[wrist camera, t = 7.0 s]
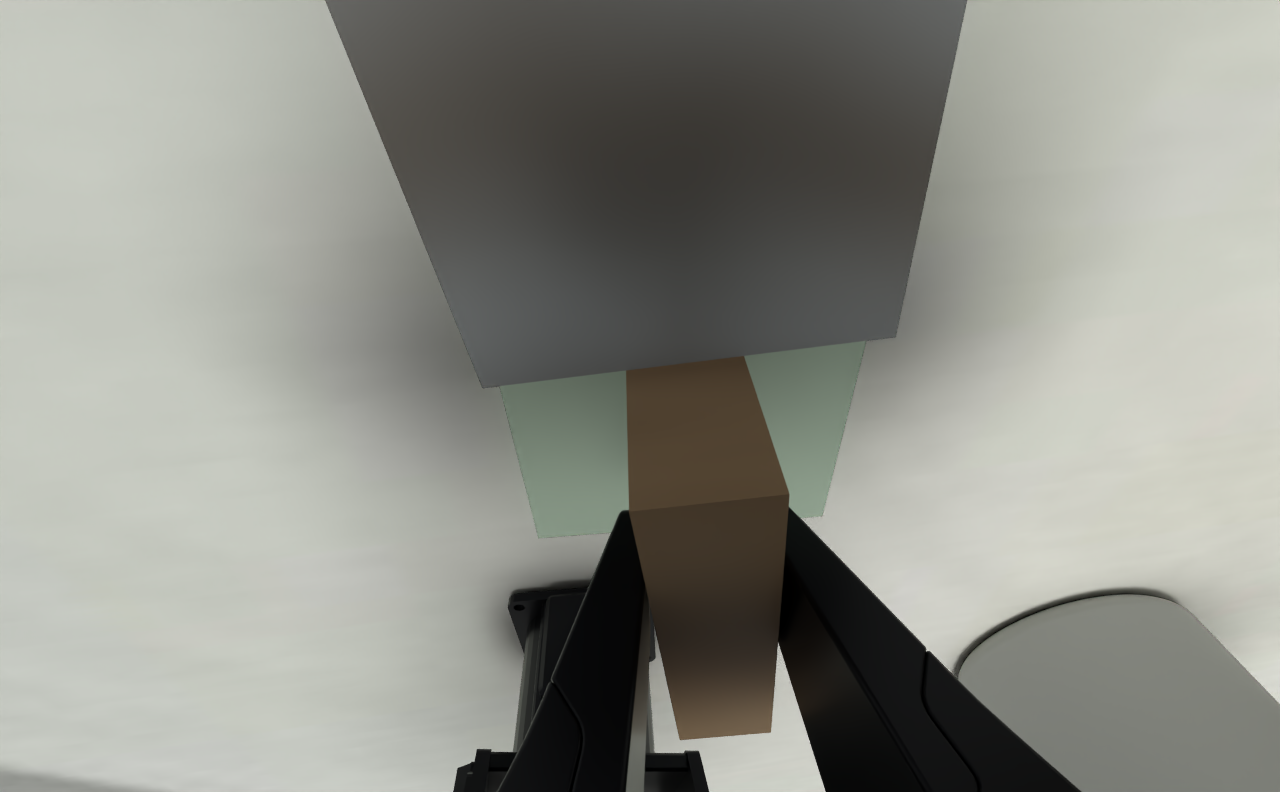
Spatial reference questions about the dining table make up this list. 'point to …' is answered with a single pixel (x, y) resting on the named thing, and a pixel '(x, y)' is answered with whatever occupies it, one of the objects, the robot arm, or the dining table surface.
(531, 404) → the mat
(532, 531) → the dining table surface
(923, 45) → the spatula
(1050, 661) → the cylinder vase
